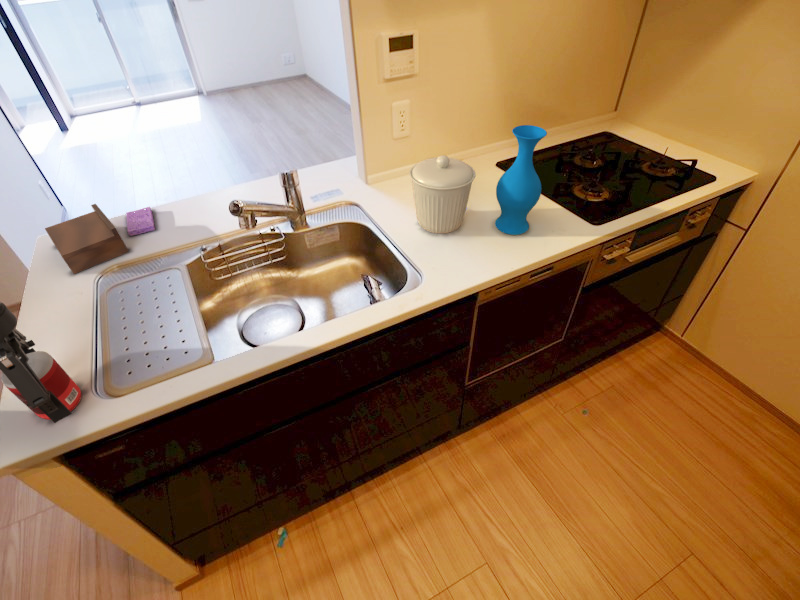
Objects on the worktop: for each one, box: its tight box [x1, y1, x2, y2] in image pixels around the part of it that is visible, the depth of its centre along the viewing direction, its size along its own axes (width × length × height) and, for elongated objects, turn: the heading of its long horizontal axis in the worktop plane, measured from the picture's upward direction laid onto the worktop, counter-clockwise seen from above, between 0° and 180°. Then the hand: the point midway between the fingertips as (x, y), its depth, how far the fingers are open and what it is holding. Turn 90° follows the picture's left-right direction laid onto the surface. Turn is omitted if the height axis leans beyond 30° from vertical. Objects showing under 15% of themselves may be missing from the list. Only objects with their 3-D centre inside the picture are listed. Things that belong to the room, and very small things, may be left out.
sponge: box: [125, 206, 156, 237], centre depth 129 cm, size 7×13×2 cm, turn 28°
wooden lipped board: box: [44, 203, 130, 275], centre depth 118 cm, size 14×18×8 cm
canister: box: [408, 154, 477, 235], centre depth 120 cm, size 18×18×21 cm
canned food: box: [0, 350, 82, 421], centre depth 79 cm, size 8×8×11 cm
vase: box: [494, 124, 548, 236], centre depth 116 cm, size 12×13×28 cm
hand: (53, 394), depth 81 cm, fingers open, 13 cm apart
